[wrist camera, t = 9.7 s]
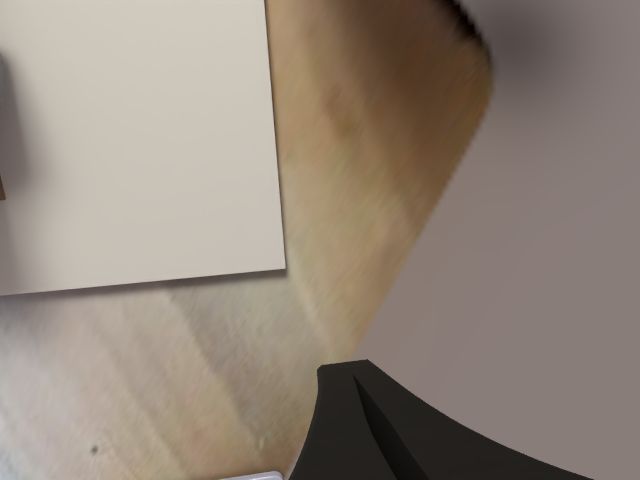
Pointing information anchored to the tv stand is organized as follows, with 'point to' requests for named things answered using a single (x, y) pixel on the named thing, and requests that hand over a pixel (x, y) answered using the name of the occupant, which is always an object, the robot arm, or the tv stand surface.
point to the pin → (2, 81)
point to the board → (135, 143)
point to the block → (2, 191)
